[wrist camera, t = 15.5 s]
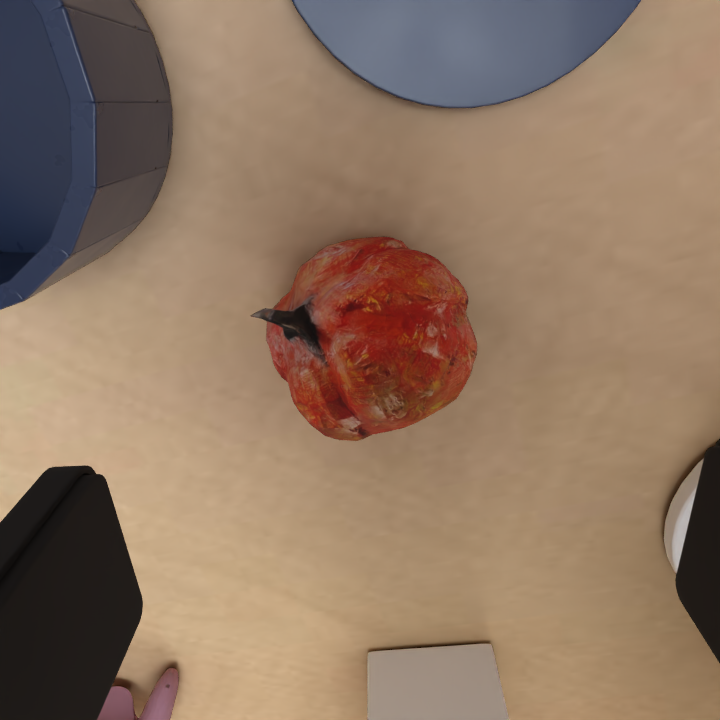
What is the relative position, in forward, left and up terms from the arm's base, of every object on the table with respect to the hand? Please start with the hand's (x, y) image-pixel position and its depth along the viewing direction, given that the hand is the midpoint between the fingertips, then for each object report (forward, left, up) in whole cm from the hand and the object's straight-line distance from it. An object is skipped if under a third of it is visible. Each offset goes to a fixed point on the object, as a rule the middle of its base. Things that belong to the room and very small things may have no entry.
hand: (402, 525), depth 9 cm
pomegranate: (-2, 0, -16) cm, 16 cm away
